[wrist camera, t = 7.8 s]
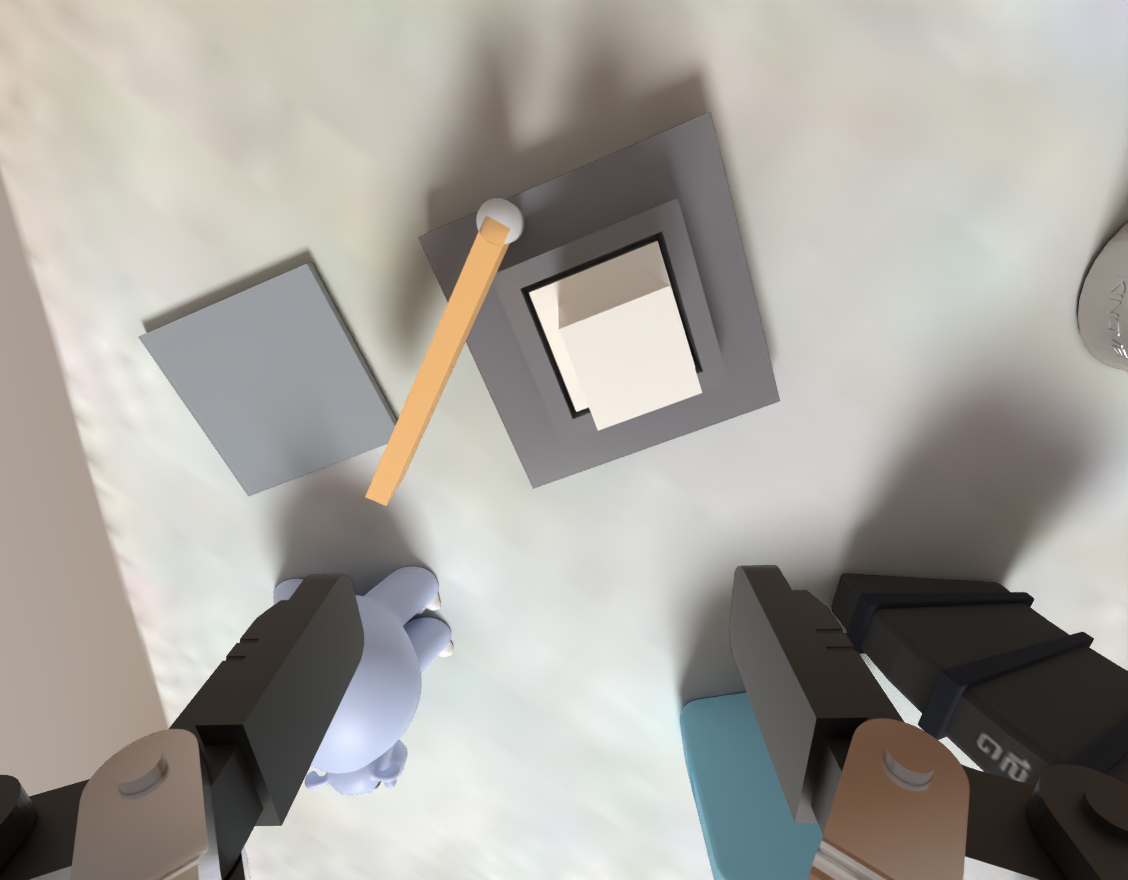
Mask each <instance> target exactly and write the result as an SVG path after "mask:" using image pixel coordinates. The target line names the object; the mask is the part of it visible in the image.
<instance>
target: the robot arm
mask: <svg viewBox="0 0 1128 880" xmlns="http://www.w3.org/2000/svg"><path fill="white" fill-rule="evenodd" d="M1078 322H1079V329H1080V334H1081V336H1082V339H1083V341H1084V343H1085V345H1086V347H1087V348H1088V350H1089V351H1090V352H1091V353H1092V354H1093V355H1094V357H1095V358H1097V359H1098V360H1100V361H1102V362H1103V363H1105V364H1106V365H1108V366H1111V367H1115V368H1118V369H1122V370H1126V371H1128V223H1126V224H1125V225H1124V226H1123V227H1122V228H1121V229H1120V230H1119V231H1118V232H1117V233H1116V234H1115V235H1114V237H1113V238H1112V239H1111V240H1110V241H1109V242H1108V243H1107V245H1106V246H1105V247H1104V249H1103V250H1102V252H1101V253H1100V254H1099V256H1098V257H1097V259H1096V260H1095V262H1094V264H1093V266H1092V268H1091V270H1090V272H1089V274H1088V276H1087V278H1086V280H1085V283H1084V286H1083V289H1082V293H1081V296H1080V300H1079V310H1078ZM729 639H730V646H731V651H732V654H733V658H734V661H735V663H736V666H737V669H738V671H739V674H740V677H741V679H742V682H743V685H744V687H745V690H746V693H747V696H748V698H749V701H750V704H751V706H752V709H753V712H754V714H755V717H756V720H757V723H758V725H759V728H760V731H761V733H762V736H763V739H764V741H765V744H766V747H767V750H768V752H769V755H770V758H771V760H772V763H773V766H774V768H775V771H776V774H777V776H778V779H779V782H780V785H781V787H782V790H783V793H784V795H785V798H786V801H787V803H788V806H789V809H790V812H791V814H792V817H793V820H794V822H795V823H818V825H819V827H820V829H821V832H822V834H823V837H822V841H821V844H820V847H819V848H818V850H817V852H816V855H815V858H814V861H813V864H812V868H811V871H810V874H809V878H808V880H1128V785H1127V784H1125V783H1123V782H1121V781H1119V780H1117V779H1115V778H1113V777H1111V776H1109V775H1106V774H1104V773H1102V772H1099V771H1096V770H1093V769H1090V768H1087V767H1082V766H1078V765H1070V764H1059V765H1054V766H1051V767H1049V768H1047V769H1045V770H1044V772H1043V773H1042V774H1041V776H1040V778H1039V780H1038V783H1037V785H1036V786H1035V785H1031V784H1027V783H1024V782H1020V781H1016V780H1012V779H1009V778H1005V777H1001V776H997V775H993V774H990V773H986V772H982V771H978V770H975V769H972V768H969V767H966V766H964V765H961V764H960V762H959V761H958V759H957V758H956V757H955V756H954V755H953V754H952V752H951V751H950V750H949V749H948V748H947V747H945V746H944V745H943V744H942V743H941V742H940V741H938V740H937V739H936V738H934V737H933V736H931V735H930V734H928V733H927V732H925V731H923V730H921V729H919V728H917V727H915V726H913V725H910V724H908V723H905V722H904V721H903V719H902V718H901V716H900V715H899V713H898V712H897V710H896V709H895V707H894V706H893V704H892V703H891V701H890V700H889V698H888V697H887V695H886V694H885V692H884V691H883V689H882V688H881V686H880V685H879V683H878V682H877V680H876V679H875V677H874V676H873V674H872V673H871V671H870V670H869V668H868V667H867V665H866V664H865V662H864V661H863V659H862V658H861V656H860V655H859V653H858V652H857V651H855V650H854V646H853V644H852V643H851V641H850V640H849V638H848V637H847V635H846V634H845V633H843V632H842V628H841V626H840V625H839V623H838V622H837V620H836V619H835V617H834V616H833V614H832V613H831V611H830V609H829V608H828V607H827V606H825V605H824V604H823V603H822V602H820V601H819V600H818V599H817V598H815V597H814V596H813V595H811V594H810V593H809V592H808V591H806V590H792V589H791V588H790V586H789V584H788V583H787V581H786V579H785V578H784V576H783V574H782V573H781V571H780V569H779V568H778V567H777V566H776V565H757V566H738V567H737V568H736V570H735V574H734V583H733V592H732V602H731V611H730V620H729ZM363 649H364V630H363V625H362V621H361V617H360V613H359V608H358V604H357V600H356V596H355V591H354V587H353V583H352V580H351V578H350V576H349V575H348V574H312V575H308V576H307V577H305V579H304V580H303V581H302V582H301V584H300V585H299V586H298V588H297V589H296V590H295V592H294V593H293V594H292V596H291V597H290V598H289V600H280V601H279V602H278V603H276V604H275V605H274V606H272V607H271V608H270V609H268V610H267V611H265V612H264V613H263V614H261V615H260V616H259V617H257V618H256V620H255V621H254V622H253V623H252V625H251V626H250V627H249V628H248V630H247V631H246V632H245V633H244V635H243V636H242V637H241V638H240V643H236V645H235V646H234V647H233V649H232V650H231V651H230V652H229V654H228V655H227V656H226V661H222V662H221V664H220V665H219V666H218V667H217V669H216V670H215V671H214V672H213V674H212V675H211V676H210V678H209V679H208V680H207V681H206V683H205V684H204V685H203V686H202V688H201V689H200V690H199V691H198V693H197V694H196V695H195V696H194V698H193V699H192V700H191V701H190V703H189V704H188V705H187V706H186V708H185V709H184V710H183V712H182V713H181V714H180V715H179V717H178V718H177V719H176V720H175V722H174V723H173V724H172V725H171V727H170V728H169V729H168V730H163V731H159V732H155V733H152V734H150V735H147V736H145V737H142V738H140V739H138V740H136V741H135V742H132V743H131V744H129V745H127V746H126V747H124V748H123V749H121V750H120V751H118V752H117V753H116V754H114V755H113V756H112V757H111V758H110V759H108V760H107V761H106V762H105V763H104V764H103V765H102V766H101V767H100V768H99V769H98V770H97V771H96V772H95V773H94V775H93V776H92V777H91V778H90V779H89V780H85V781H82V782H78V783H75V784H72V785H68V786H64V787H61V788H58V789H54V790H51V791H47V792H44V793H40V794H37V795H33V796H30V797H29V796H28V795H27V793H26V792H25V790H24V789H23V787H22V785H21V784H20V782H19V781H18V779H16V778H15V777H13V776H9V775H0V880H251V876H250V870H249V863H248V857H247V854H246V850H245V848H244V845H245V843H246V842H247V840H248V838H249V836H250V834H251V832H252V830H253V828H254V826H282V824H283V822H284V820H285V818H286V816H287V814H288V811H289V809H290V807H291V805H292V803H293V801H294V799H295V797H296V795H297V793H298V791H299V788H300V786H301V784H302V782H303V780H304V778H305V776H306V774H307V772H308V770H309V768H310V766H311V763H312V761H313V759H314V757H315V755H316V753H317V751H318V749H319V747H320V745H321V743H322V741H323V738H324V736H325V734H326V732H327V730H328V728H329V726H330V724H331V722H332V720H333V718H334V716H335V713H336V711H337V709H338V707H339V705H340V703H341V701H342V699H343V697H344V695H345V693H346V690H347V688H348V686H349V684H350V682H351V680H352V678H353V676H354V674H355V672H356V670H357V668H358V665H359V663H360V661H361V658H362V654H363Z"/></svg>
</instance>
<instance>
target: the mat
mask: <svg viewBox="0 0 1128 880" xmlns="http://www.w3.org/2000/svg"><path fill="white" fill-rule="evenodd" d="M139 339H140V340H141V342H142V343H143V344H144V346H145V347H146V349H147V350H148V352H149V353H150V355H151V356H152V357H153V359H154V360H155V362H156V363H157V365H158V366H159V368H160V369H161V370H162V372H163V373H164V375H165V376H166V378H167V379H168V381H169V382H170V383H171V385H172V386H173V388H174V389H175V391H176V392H177V394H178V395H179V397H180V398H181V399H182V401H183V402H184V404H185V405H186V407H187V408H188V410H189V411H190V412H191V414H192V415H193V417H194V418H195V420H196V421H197V423H198V424H199V425H200V427H201V428H202V430H203V431H204V433H205V434H206V436H207V437H208V438H209V440H210V441H211V443H212V444H213V446H214V447H215V449H216V450H217V451H218V453H219V454H220V456H221V457H222V459H223V460H224V462H225V463H226V465H227V466H228V467H229V469H230V470H231V472H232V473H233V475H234V476H235V478H236V479H237V480H238V482H239V483H240V485H241V486H242V488H243V489H244V491H245V492H246V493H247V495H248V496H251V495H253V494H256V493H259V492H261V491H264V490H267V489H269V488H272V487H274V486H277V485H280V484H282V483H285V482H288V481H290V480H293V479H296V478H298V477H301V476H303V475H306V474H309V473H311V472H314V471H317V470H319V469H322V468H325V467H327V466H330V465H332V464H335V463H338V462H340V461H343V460H346V459H348V458H351V457H354V456H356V455H359V454H361V453H364V452H367V451H369V450H372V449H375V448H377V447H380V446H383V445H385V444H388V442H389V440H390V437H391V435H392V433H393V430H394V428H395V426H396V423H397V420H396V418H395V416H394V414H393V412H392V411H391V409H390V407H389V405H388V403H387V401H386V399H385V398H384V396H383V394H382V392H381V390H380V388H379V386H378V385H377V383H376V381H375V379H374V377H373V375H372V373H371V372H370V370H369V368H368V366H367V364H366V362H365V360H364V359H363V357H362V355H361V353H360V351H359V349H358V347H357V346H356V344H355V342H354V340H353V338H352V336H351V334H350V333H349V331H348V329H347V327H346V325H345V323H344V321H343V320H342V318H341V316H340V314H339V312H338V310H337V308H336V306H335V305H334V303H333V301H332V299H331V297H330V295H329V293H328V292H327V290H326V288H325V286H324V284H323V282H322V280H321V279H320V277H319V275H318V273H317V271H316V269H315V267H314V266H313V264H312V263H307V264H304V265H302V266H300V267H298V268H295V269H293V270H291V271H288V272H286V273H284V274H282V275H279V276H277V277H275V278H272V279H270V280H268V281H265V282H263V283H261V284H259V285H256V286H254V287H252V288H249V289H247V290H245V291H242V292H240V293H238V294H236V295H233V296H231V297H229V298H226V299H224V300H222V301H219V302H217V303H215V304H213V305H210V306H208V307H206V308H203V309H201V310H199V311H197V312H194V313H192V314H190V315H187V316H185V317H183V318H180V319H178V320H176V321H174V322H171V323H169V324H167V325H164V326H162V327H160V328H157V329H155V330H153V331H151V332H148V333H146V334H144V335H141V336H139Z"/></svg>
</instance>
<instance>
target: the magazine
mask: <svg viewBox="0 0 1128 880" xmlns="http://www.w3.org/2000/svg"><path fill="white" fill-rule="evenodd" d="M1033 601H1034V598H1033V597H1032V596H1030V595H1029V594H1028V593H1026V592H1010V591H1008V590H1007V589H1006V588H1005V587H1003V586H1002V585H1000V584H998V583H994V582H977V581H960V580H943V579H926V578H909V577H892V576H875V575H858V574H844V575H843V576H842V577H841V580H840V583H839V586H838V589H837V592H836V595H835V598H834V601H833V604H832V612H833V613H834V614H835V616H836V617H837V618H838V619H839V621H840V622H841V623H842V625H843V626H844V627H845V628H846V630H847V633H846V635H847V637H848V638H849V640H850V641H851V643H852V644H853V646H854V650H855V651H857V652H858V653H859V654H862V653H866V654H867V656H868V657H869V658H870V659H871V660H872V662H873V663H874V664H875V665H876V666H877V667H878V669H879V670H880V671H881V672H882V673H883V674H884V676H885V677H886V678H887V679H888V680H889V681H890V682H891V683H892V684H893V685H894V686H895V687H896V688H897V689H898V690H899V691H900V692H901V693H902V694H903V695H904V696H905V697H906V698H907V699H908V700H909V701H910V702H911V703H912V704H913V705H914V706H915V707H916V708H917V709H918V710H919V711H920V712H921V713H922V716H921V718H920V720H919V722H918V726H919V727H921V728H922V729H923V730H924V731H925V732H927V733H928V734H930V735H931V736H933V737H934V738H936V739H937V740H939V739H942V738H944V737H948V738H949V739H950V740H951V741H952V742H953V743H954V744H955V745H956V746H957V747H958V748H960V749H961V750H962V751H963V752H964V753H965V754H966V755H967V756H968V757H969V758H970V759H971V760H972V761H973V762H974V763H976V764H977V765H978V766H979V767H980V768H981V769H982V770H983V771H984V772H986V773H990V774H993V775H997V776H1001V777H1005V778H1009V779H1012V780H1016V781H1020V782H1024V783H1027V784H1031V785H1035V786H1036V785H1037V783H1038V780H1039V778H1040V776H1041V774H1042V773H1043V772H1044V770H1045V769H1047V768H1049V767H1051V766H1054V765H1059V764H1070V765H1078V766H1082V767H1087V768H1090V769H1093V770H1096V771H1099V772H1102V773H1104V774H1106V775H1109V776H1111V777H1113V778H1115V779H1117V780H1119V781H1121V782H1123V783H1125V784H1127V785H1128V671H1127V670H1125V669H1123V668H1122V667H1120V666H1118V665H1117V664H1115V663H1113V662H1112V661H1110V660H1108V659H1107V658H1105V657H1104V656H1102V655H1100V654H1099V653H1097V652H1096V651H1094V650H1092V649H1091V648H1089V647H1090V645H1091V644H1092V642H1093V640H1094V638H1092V637H1091V636H1089V635H1088V634H1086V633H1084V632H1079V633H1076V634H1072V635H1069V634H1067V633H1066V632H1064V631H1063V630H1061V629H1060V628H1059V627H1057V626H1056V625H1054V624H1053V623H1051V622H1050V621H1048V620H1047V619H1045V618H1044V617H1043V616H1041V615H1040V614H1039V613H1037V612H1036V611H1034V610H1033V609H1032V608H1030V607H1031V605H1032V603H1033Z"/></svg>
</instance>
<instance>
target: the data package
mask: <svg viewBox="0 0 1128 880" xmlns="http://www.w3.org/2000/svg"><path fill="white" fill-rule="evenodd" d="M680 725H681V733H682V740H683V748H684V755H685V762H686V766H687V770H688V775H689V779H690V783H691V787H692V791H693V795H694V799H695V803H696V807H697V812H698V816H699V820H700V824H701V828H702V832H703V836H704V840H705V844H706V848H707V853H708V857H709V861H710V865H711V869H712V873H713V877H714V880H808V878H809V874H810V871H811V868H812V864H813V861H814V858H815V855H816V852H817V850H818V848H819V847H820V844H821V841H822V837H823V834H822V832H821V829H820V827H819V825H818V823H795V822H794V820H793V817H792V814H791V812H790V809H789V806H788V803H787V801H786V798H785V795H784V793H783V790H782V787H781V785H780V782H779V779H778V776H777V774H776V771H775V768H774V766H773V763H772V760H771V758H770V755H769V752H768V750H767V747H766V744H765V741H764V739H763V736H762V733H761V731H760V728H759V725H758V723H757V720H756V717H755V714H754V712H753V709H752V706H751V704H750V701H749V698H748V696H747V693H746V692H745V693H738V694H731V695H724V696H717V697H710V698H703V699H697V700H694V701H691V702H689V703H688V704H687V705H686V706H685V707H684V708H683V709H682V711H681V714H680Z"/></svg>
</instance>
